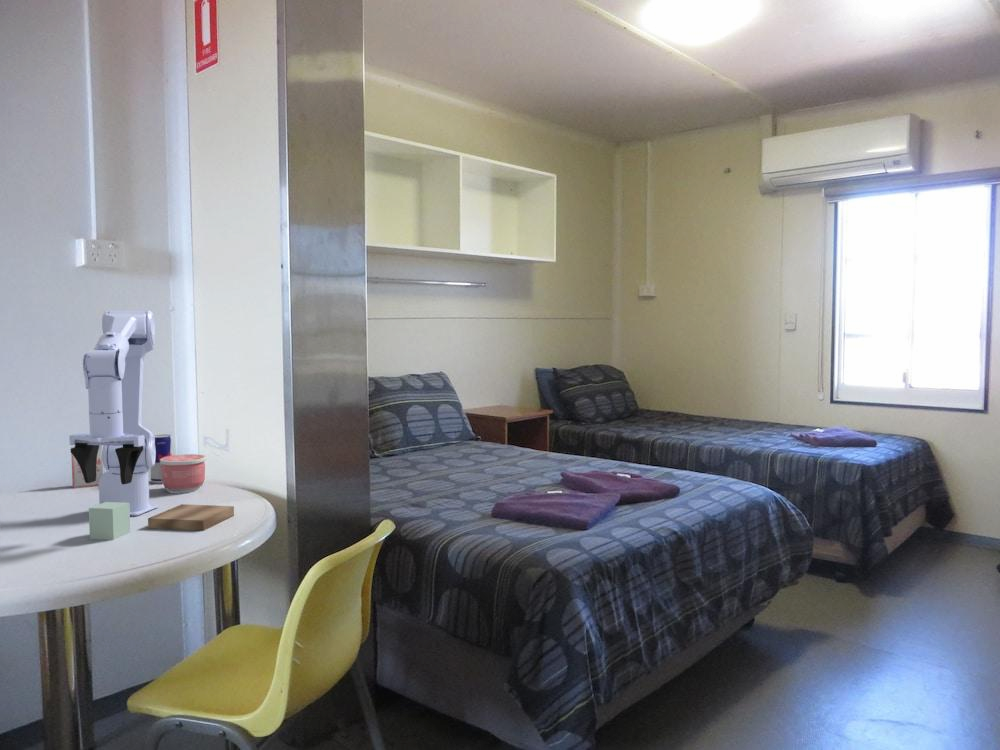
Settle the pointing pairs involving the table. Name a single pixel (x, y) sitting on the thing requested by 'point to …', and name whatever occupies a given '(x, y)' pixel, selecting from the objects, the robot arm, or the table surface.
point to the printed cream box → (78, 475)
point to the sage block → (109, 520)
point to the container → (183, 472)
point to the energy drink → (160, 456)
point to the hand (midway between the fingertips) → (108, 482)
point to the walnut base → (191, 517)
